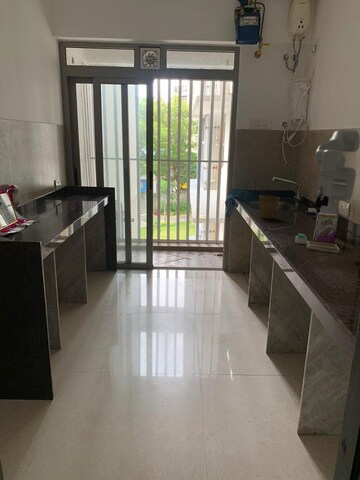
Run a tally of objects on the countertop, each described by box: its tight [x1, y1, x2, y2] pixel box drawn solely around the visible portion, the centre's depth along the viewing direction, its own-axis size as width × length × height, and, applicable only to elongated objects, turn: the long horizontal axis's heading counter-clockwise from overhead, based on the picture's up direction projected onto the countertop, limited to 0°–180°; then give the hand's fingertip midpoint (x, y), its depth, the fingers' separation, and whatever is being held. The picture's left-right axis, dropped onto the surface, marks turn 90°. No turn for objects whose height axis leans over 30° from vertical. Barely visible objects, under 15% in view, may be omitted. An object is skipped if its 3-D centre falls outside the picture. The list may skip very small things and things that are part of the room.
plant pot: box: [258, 194, 280, 219], centre depth 267 cm, size 15×15×16 cm
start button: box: [297, 233, 306, 239], centre depth 203 cm, size 4×4×3 cm
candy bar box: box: [313, 212, 340, 244], centre depth 207 cm, size 11×5×16 cm, turn 74°
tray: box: [305, 240, 340, 254], centre depth 194 cm, size 10×16×2 cm, turn 76°
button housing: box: [294, 235, 308, 245], centre depth 204 cm, size 6×6×3 cm
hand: (321, 206), depth 192 cm, fingers open, 9 cm apart
